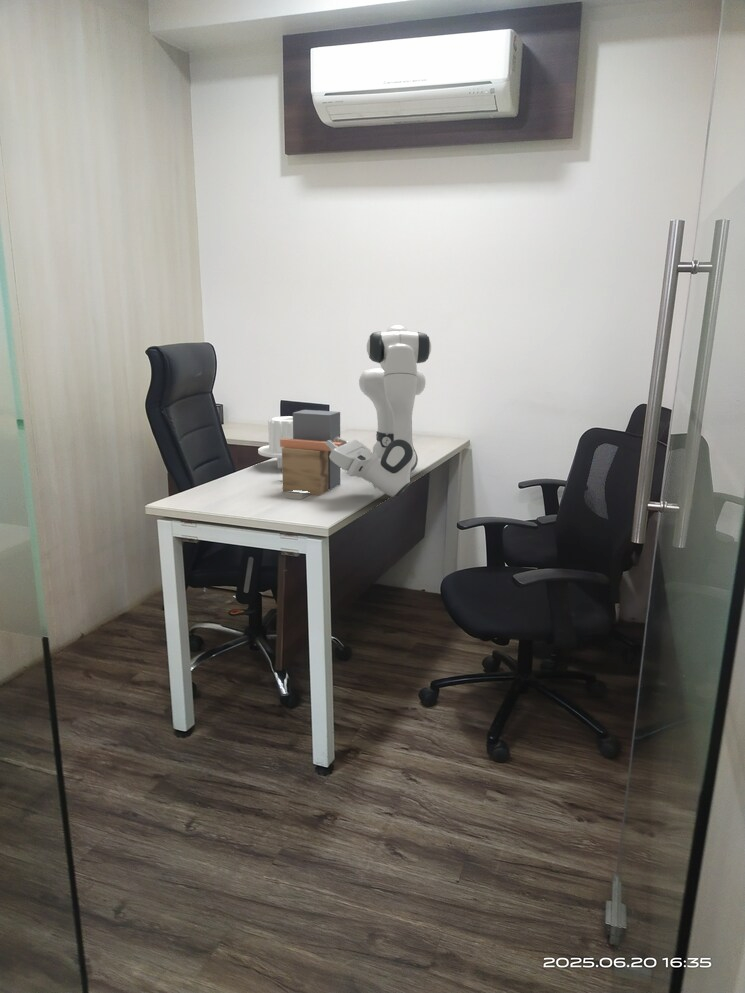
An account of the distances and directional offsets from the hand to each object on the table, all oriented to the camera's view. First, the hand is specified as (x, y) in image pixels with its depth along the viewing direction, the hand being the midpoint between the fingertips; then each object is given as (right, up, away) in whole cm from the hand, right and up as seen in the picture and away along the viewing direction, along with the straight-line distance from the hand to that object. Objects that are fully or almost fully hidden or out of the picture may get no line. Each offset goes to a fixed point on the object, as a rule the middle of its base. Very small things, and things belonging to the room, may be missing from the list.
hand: (331, 440), depth 235 cm
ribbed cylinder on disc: (-19, -7, +48) cm, 52 cm away
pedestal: (-6, -15, +17) cm, 23 cm away
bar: (-7, -3, +3) cm, 8 cm away
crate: (-9, -17, +8) cm, 21 cm away
